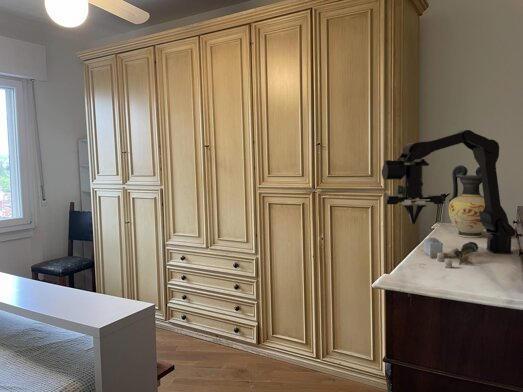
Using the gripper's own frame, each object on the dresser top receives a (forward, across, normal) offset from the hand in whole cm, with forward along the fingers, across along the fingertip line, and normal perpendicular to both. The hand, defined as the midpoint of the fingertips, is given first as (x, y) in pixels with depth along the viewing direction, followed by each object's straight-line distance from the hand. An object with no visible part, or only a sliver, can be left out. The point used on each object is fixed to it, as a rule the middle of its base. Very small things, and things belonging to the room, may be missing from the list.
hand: (413, 224), depth 142 cm
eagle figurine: (+11, -14, +9) cm, 20 cm away
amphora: (+11, -32, -36) cm, 49 cm away
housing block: (+11, -7, 0) cm, 13 cm away
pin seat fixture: (+11, -10, +7) cm, 16 cm away
